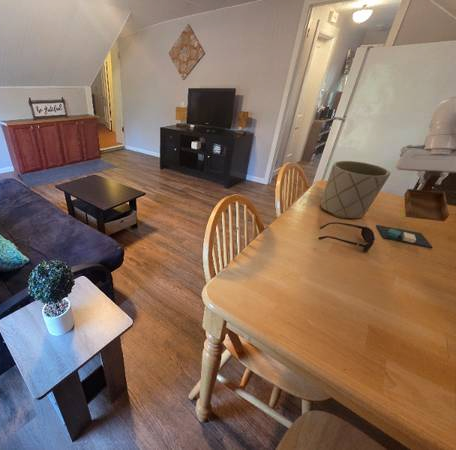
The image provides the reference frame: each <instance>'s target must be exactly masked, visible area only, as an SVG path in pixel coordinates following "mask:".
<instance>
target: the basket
mask: <svg viewBox="0 0 456 450" xmlns="http://www.w3.org/2000/svg"><path fill="white" fill-rule="evenodd" d="M440 173H441V172H432V171H431V172H428V175H426V178H425V179H427V181H426V183H425V184H420V186H419V188H418V189H415V188H407V189H406V191H405V193H404V213H405V216H404V217H405V218H413V219H420V220H428V221H429V220H430V221H436V222H437V221H438V222H445V221H446V220H447V219H448V218H449V217H450V215H449V209H448V202H447V196H446V191H440V190H432V189H433V188H434V186H435V183H436V182H437V180H438V179H439V178H440V177H441V175H440Z"/></svg>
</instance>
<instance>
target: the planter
mask: <svg viewBox="0 0 456 450" xmlns="http://www.w3.org/2000/svg"><path fill="white" fill-rule="evenodd" d="M390 176H391V172H390V170H388V169H387V168H384V167H382V166H379V165H375V164H371V163H367V162H361V161H354V160H340V161H335V162H334V163H332V166H331V169H330V172H329V176H328V178H327V181H326V184H325V188H324V191H323V194H322V197H321V199H320V207H321V208H322V209H323V210H325V211H326V212H328V213H330V214H332V215H333V216H334V217H335V218H340V219H341V218H342V219H362V218H364V217H365V215H366V214H367V212H368V211H369V209H370V208H371V206H372V205H373V203H374V201H375V200H376V198H377V197H378V195H379V194H380V192H381V190H382V189H383V187H384V186H385V184H386V182H387V181H388V179H389V177H390Z"/></svg>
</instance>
